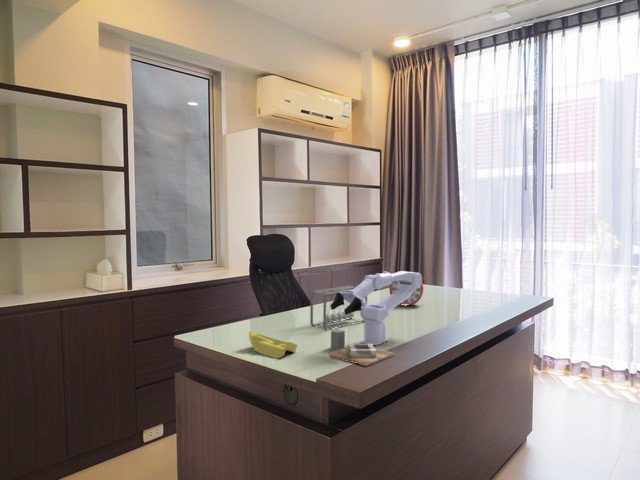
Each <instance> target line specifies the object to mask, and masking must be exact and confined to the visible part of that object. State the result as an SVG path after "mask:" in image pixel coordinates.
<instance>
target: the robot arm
mask: <svg viewBox="0 0 640 480" xmlns="http://www.w3.org/2000/svg"><path fill="white" fill-rule="evenodd" d="M393 281H398V289H399V290H398V291H396V292H395V293H393V294H391V295H390V294H389V295H388V296H387V297H385V298H383V299H382V300H380V301H378V302H375V303H370V304H368V301H367V302H366V300H365V297H366V296H367V297H368V296H369V295H370V294H371V293H373V292H374V291H375V290H381V289H382V288H384V287H388V286H390V285H391V284H392V282H393ZM421 282H422V283H423V276H422V274H421V272H415V271H406V270H400V271H399V270H398V271H396V272H393V273H390V272H388V271H382V273H378V272H377V273H375V274H369V275H365V276H364V278H363V281H361V282H360V284H358V285H356V286H354V287H355V288H354V289H353V290H351V289H348V290H349V292H344V293H341V292H340V293H339V292H338V291H337V292H338V293H337V294H335V297H334V300H332V303H330V304H329V307H330V310H332V311H334V310H336V309H338V306H339V307H342V306H345V302H346V303H348V305H347V306H345V307H344V309H343V312H344V311H345V314H346V315H347V314H349V313H352V312H354V313H355V312H360V317H361V319H362V320H363V321H364V322H363V323H364V327H363V329H364V330H363V331H364V332H363V335H364V336H363V340H360V341H359V343H360V342H361V343H360V344H364V343H366V344H373V345H376V346H378V345H377V344H379V345H381V344H380V343H382V344H384V343H386V342H385V341H387V342H388V340H386V330H387V328H386V327H387V326H386V325H385V322H384V321H385V319H386V318H387V317H388V316H389V312H390V311H391V310H392V309H394V308H396V307H398V306H399V305H400V303H402V302H403V301H405V300H406V299H408V298H409V297H410V296H411V295H412V294H413V292H414V291H415V290H416V289H417V288H419V287H420V286H421ZM383 342H384V343H383Z"/></svg>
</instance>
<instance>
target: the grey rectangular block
mask: <svg viewBox="0 0 640 480" xmlns="http://www.w3.org/2000/svg"><path fill="white" fill-rule="evenodd" d="M345 333H346V332H345V330H342V329H339V328H336V329H334V330H333V329H332V330H331V331H330V348H331V349H333V348H334V349H333V350H337V349H339V350H342V349H345V348H346V346H345V344H346V342H345V341H346V337H345V336H346V335H345ZM344 347H345V348H344ZM341 348H342V349H341Z"/></svg>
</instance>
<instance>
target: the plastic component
mask: <svg viewBox="0 0 640 480" xmlns="http://www.w3.org/2000/svg"><path fill="white" fill-rule="evenodd" d="M248 337H249V341H250V344H251V346H252V348H253V349H254V350H255V351H256V352H257V353H260V354H261V355H264V356H267V357H272V358H274V359H281V358H282V357H284V356H285V353H286V351H287V352H290V353H296V351H297V348H298V344H296V343H294V342H291V341H283V340H279V339H277V338H273V337H268V336H266V335H264V334H260V333H258V332H255V331H253V330H250V331H249V333H248Z"/></svg>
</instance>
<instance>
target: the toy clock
mask: <svg viewBox="0 0 640 480" xmlns="http://www.w3.org/2000/svg"><path fill="white" fill-rule="evenodd" d="M388 289H389V296H390V295H391V294H393V293H395V292H396V291H398V290H399V289H398V281H393V282H392V284H391V285H389V288H388ZM423 293H424V284H423V281H422V282H421V286H420V287H419V288H417V289H416V290H415V291H414V292H413V294H412V295H411V296H410V297H409V298H408V299H406V300H405V301H403V302H402V303H400V304H409V305H411V306H414V305H415V304H417V303H418V302H419V301H420V299H421V298H422V296H423V295H424V294H423ZM400 304H399V305H400Z"/></svg>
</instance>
